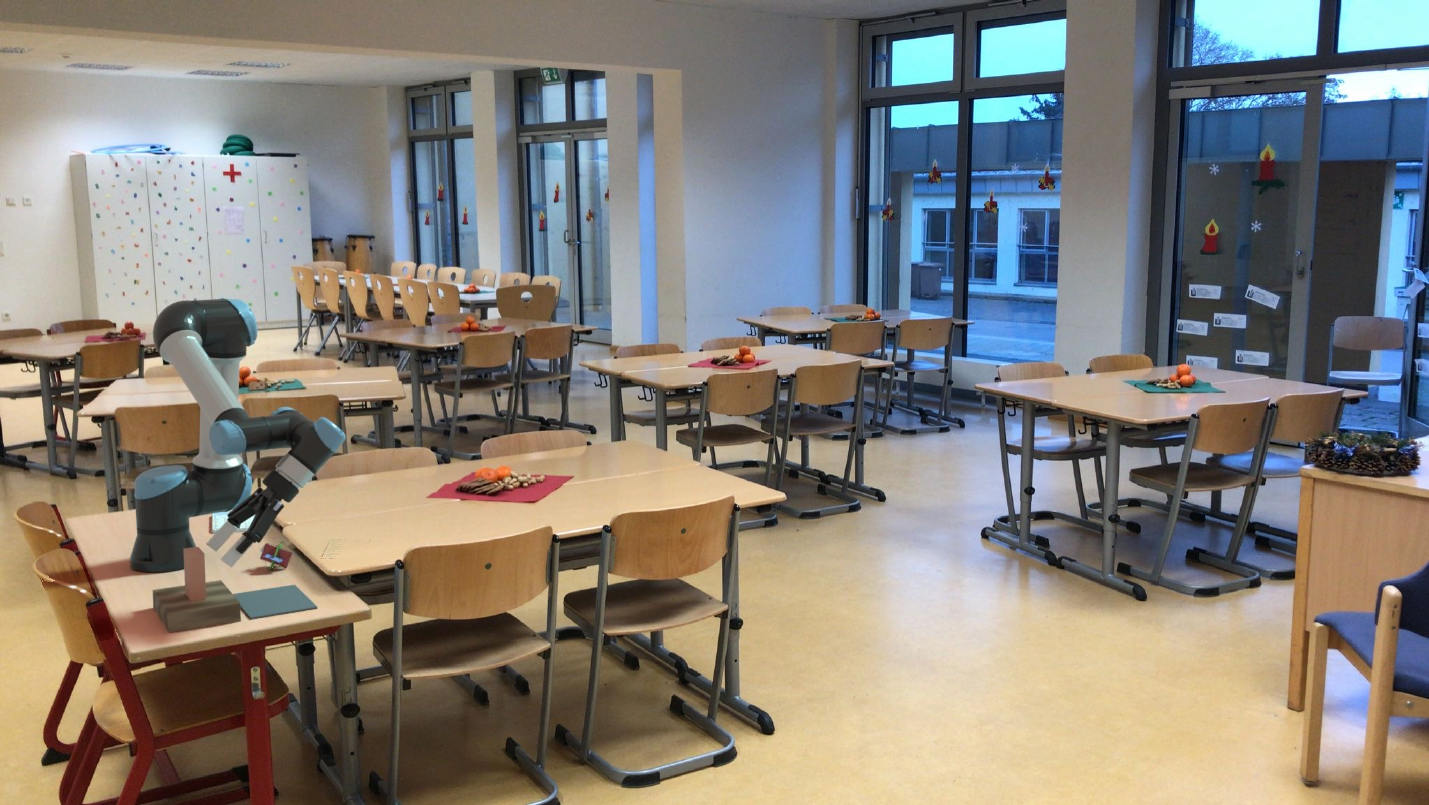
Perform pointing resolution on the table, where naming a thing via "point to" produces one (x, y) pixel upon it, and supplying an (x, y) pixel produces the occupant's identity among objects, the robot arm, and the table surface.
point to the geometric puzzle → (275, 555)
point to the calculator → (222, 517)
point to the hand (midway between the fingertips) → (218, 555)
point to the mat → (274, 601)
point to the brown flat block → (196, 607)
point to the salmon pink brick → (194, 573)
